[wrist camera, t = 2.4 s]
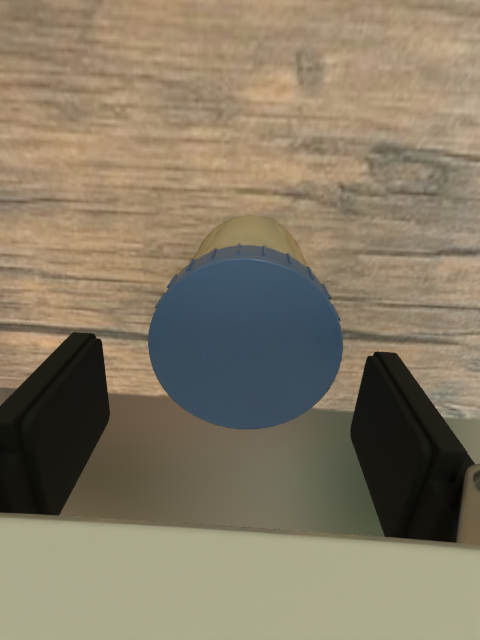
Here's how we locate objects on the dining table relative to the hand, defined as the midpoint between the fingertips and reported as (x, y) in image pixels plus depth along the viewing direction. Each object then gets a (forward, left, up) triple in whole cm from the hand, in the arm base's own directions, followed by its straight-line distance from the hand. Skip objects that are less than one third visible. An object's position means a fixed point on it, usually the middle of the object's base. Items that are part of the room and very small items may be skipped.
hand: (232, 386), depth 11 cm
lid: (0, 0, -3) cm, 3 cm away
